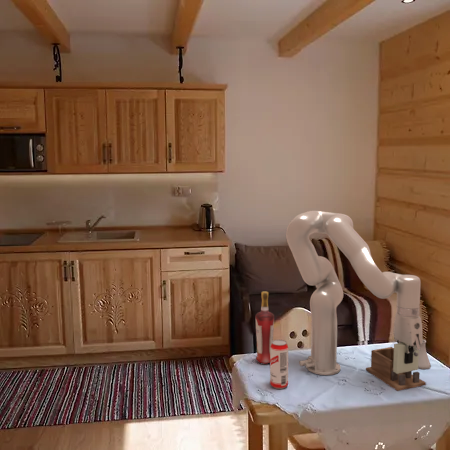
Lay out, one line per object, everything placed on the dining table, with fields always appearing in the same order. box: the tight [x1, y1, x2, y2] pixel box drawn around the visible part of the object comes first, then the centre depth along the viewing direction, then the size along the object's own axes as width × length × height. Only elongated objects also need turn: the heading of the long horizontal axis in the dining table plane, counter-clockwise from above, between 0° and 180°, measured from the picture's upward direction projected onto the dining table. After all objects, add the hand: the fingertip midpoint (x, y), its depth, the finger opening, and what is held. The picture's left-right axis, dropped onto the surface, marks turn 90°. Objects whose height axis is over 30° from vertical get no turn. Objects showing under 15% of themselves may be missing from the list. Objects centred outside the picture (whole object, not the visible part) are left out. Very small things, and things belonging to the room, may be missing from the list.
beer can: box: [269, 339, 289, 390], centre depth 178 cm, size 6×6×16 cm
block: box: [393, 343, 419, 374], centre depth 178 cm, size 9×3×10 cm, turn 110°
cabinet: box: [365, 346, 427, 392], centre depth 184 cm, size 12×18×8 cm, turn 20°
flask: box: [418, 339, 432, 370], centre depth 194 cm, size 7×7×10 cm
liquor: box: [254, 291, 275, 365], centre depth 198 cm, size 7×7×28 cm
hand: (406, 361), depth 178 cm, fingers closed on block, 2 cm apart
